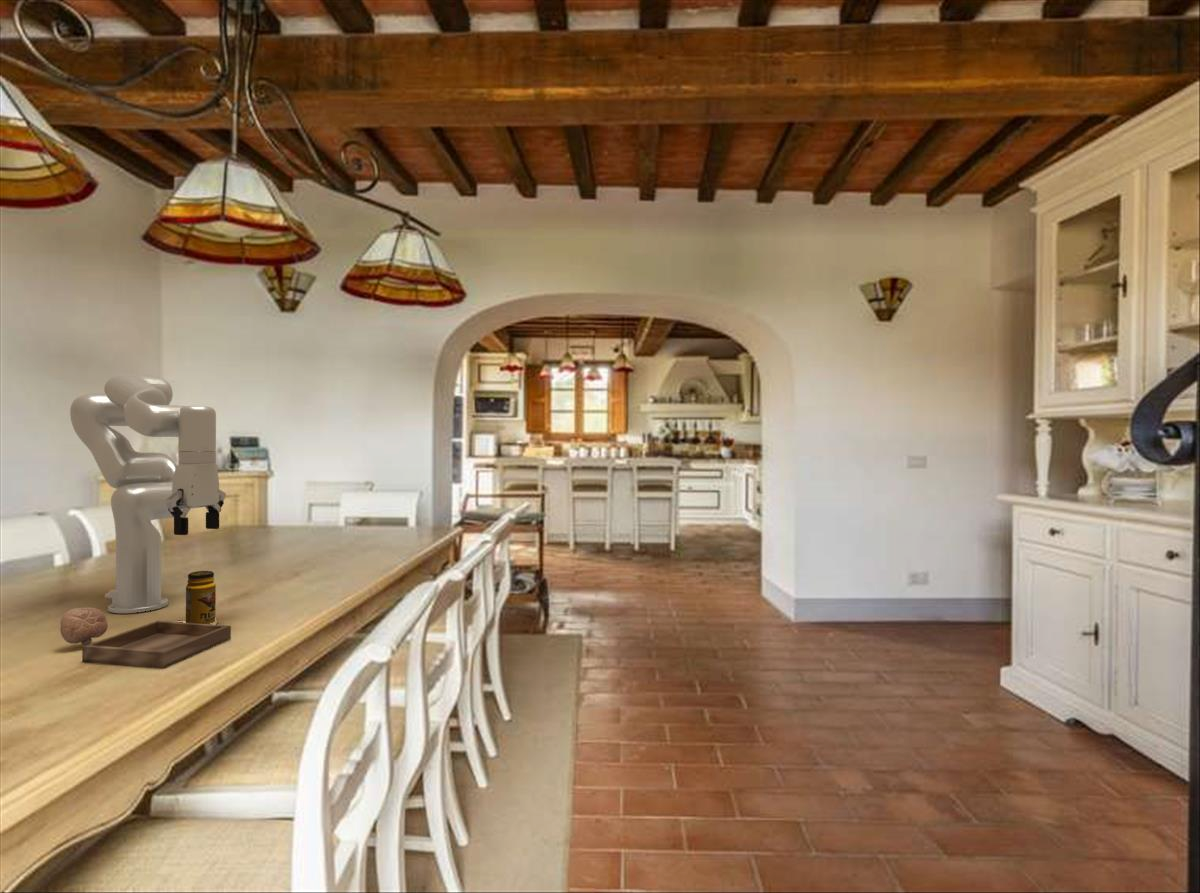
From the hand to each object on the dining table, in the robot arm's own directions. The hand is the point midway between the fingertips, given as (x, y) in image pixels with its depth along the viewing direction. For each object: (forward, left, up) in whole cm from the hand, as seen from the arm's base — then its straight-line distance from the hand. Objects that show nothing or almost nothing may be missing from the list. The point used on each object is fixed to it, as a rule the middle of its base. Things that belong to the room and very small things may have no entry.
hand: (197, 531), depth 154 cm
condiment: (0, 0, -22) cm, 22 cm away
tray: (+7, -18, -22) cm, 29 cm away
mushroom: (-10, -19, -22) cm, 31 cm away
